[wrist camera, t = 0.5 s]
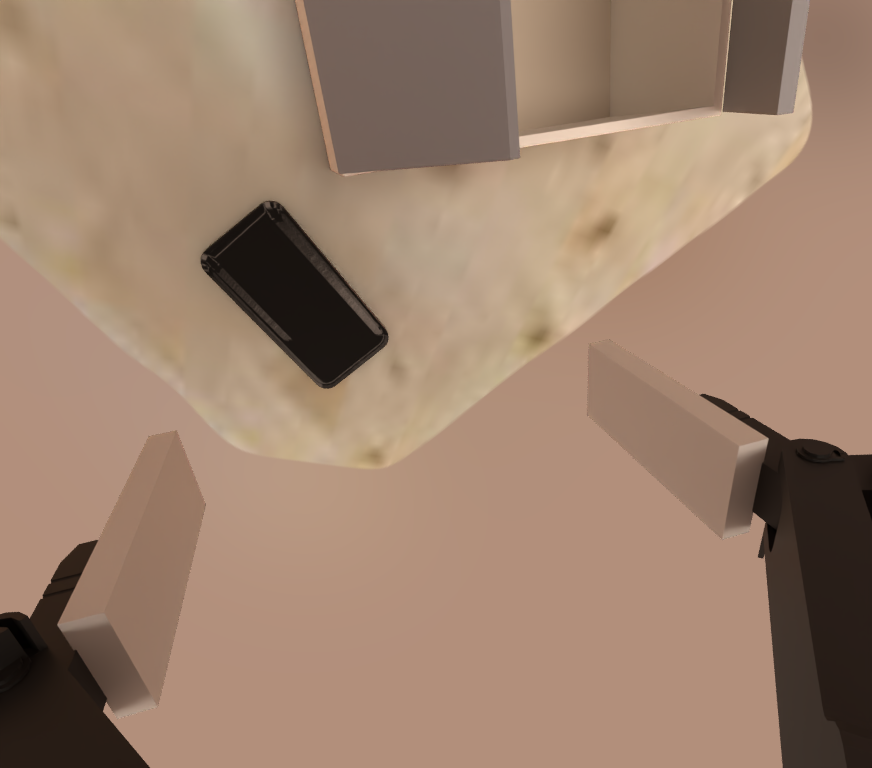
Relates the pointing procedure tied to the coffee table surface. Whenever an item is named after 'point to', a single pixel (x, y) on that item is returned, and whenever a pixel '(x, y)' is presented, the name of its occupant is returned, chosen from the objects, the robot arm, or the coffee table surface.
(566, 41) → the carton
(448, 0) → the flap
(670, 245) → the coffee table surface
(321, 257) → the phone
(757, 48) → the flap
